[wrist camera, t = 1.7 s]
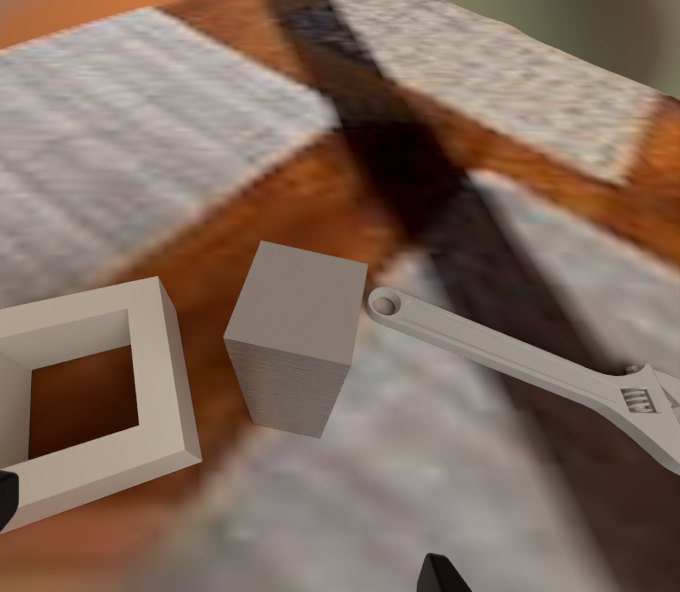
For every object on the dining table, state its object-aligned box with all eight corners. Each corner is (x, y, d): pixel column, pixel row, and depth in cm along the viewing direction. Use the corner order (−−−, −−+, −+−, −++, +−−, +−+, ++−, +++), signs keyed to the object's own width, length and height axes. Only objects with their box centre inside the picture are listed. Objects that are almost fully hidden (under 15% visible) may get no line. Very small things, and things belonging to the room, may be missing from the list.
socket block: (202, 461, 20) (184, 449, 16) (-19, 541, 17) (-96, 547, 13) (175, 309, 24) (157, 275, 21) (-2, 352, 21) (-56, 320, 18)
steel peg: (320, 438, 21) (350, 365, 11) (253, 424, 21) (223, 337, 11) (332, 374, 23) (367, 264, 13) (272, 361, 23) (261, 240, 13)
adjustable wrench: (357, 320, 26) (361, 308, 25) (390, 260, 30) (395, 246, 28) (712, 494, 23) (742, 493, 21) (703, 404, 26) (728, 397, 24)
